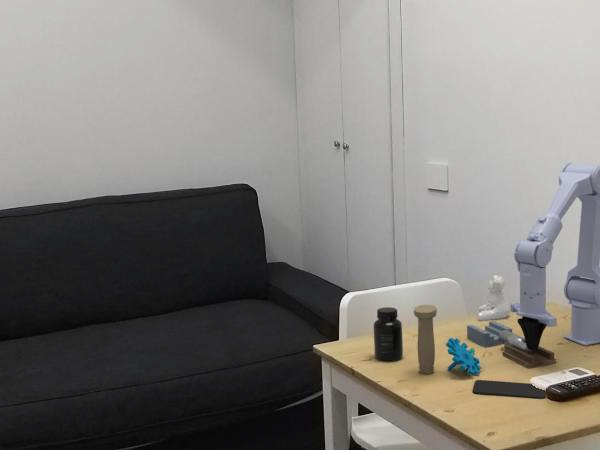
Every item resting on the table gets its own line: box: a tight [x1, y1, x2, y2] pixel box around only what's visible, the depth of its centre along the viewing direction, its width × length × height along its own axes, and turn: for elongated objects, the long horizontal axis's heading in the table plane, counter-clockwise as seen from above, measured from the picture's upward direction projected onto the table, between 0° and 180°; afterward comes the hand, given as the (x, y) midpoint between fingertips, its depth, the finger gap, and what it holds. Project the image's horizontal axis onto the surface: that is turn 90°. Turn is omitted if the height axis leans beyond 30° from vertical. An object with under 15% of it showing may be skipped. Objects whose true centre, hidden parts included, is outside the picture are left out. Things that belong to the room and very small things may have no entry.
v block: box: [466, 320, 513, 348], centre depth 204 cm, size 8×8×4 cm
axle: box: [499, 330, 536, 355], centre depth 194 cm, size 10×4×4 cm, turn 21°
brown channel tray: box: [502, 344, 557, 369], centre depth 190 cm, size 8×10×2 cm
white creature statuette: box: [477, 274, 511, 322], centre depth 224 cm, size 10×9×12 cm
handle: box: [413, 304, 438, 375], centre depth 184 cm, size 5×6×15 cm
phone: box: [471, 379, 547, 400], centre depth 172 cm, size 7×1×15 cm
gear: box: [445, 337, 482, 376], centre depth 185 cm, size 11×6×10 cm
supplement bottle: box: [373, 306, 404, 362], centre depth 195 cm, size 7×7×12 cm
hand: (532, 348), depth 188 cm, fingers closed
